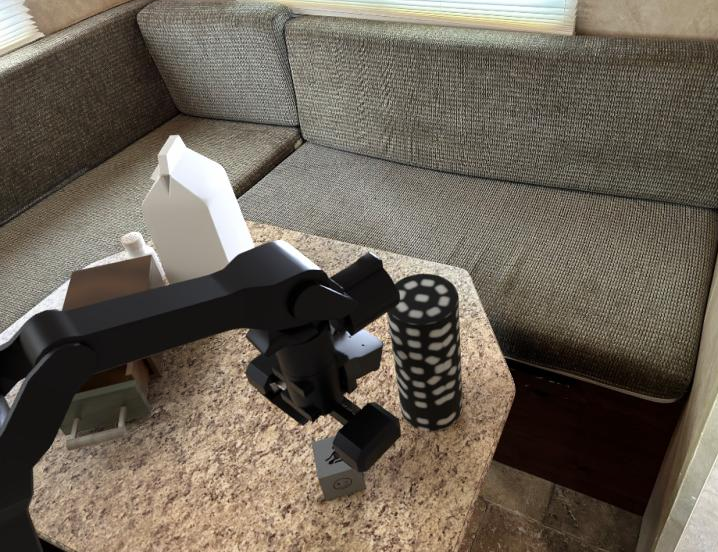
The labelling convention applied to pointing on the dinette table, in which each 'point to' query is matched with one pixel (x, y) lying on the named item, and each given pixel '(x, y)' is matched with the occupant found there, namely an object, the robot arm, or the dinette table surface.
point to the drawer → (107, 404)
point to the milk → (193, 214)
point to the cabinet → (115, 289)
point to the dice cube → (334, 471)
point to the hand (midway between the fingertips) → (331, 443)
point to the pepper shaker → (138, 248)
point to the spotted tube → (427, 351)
